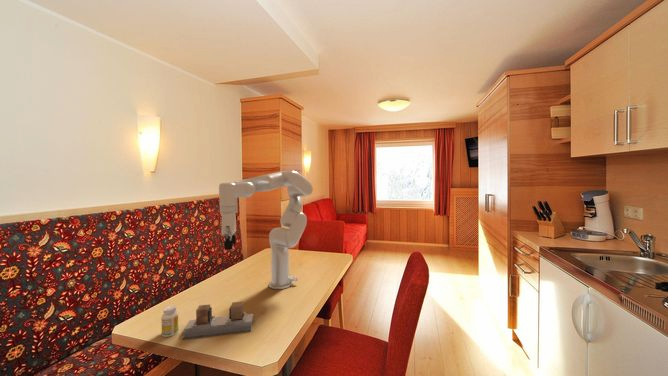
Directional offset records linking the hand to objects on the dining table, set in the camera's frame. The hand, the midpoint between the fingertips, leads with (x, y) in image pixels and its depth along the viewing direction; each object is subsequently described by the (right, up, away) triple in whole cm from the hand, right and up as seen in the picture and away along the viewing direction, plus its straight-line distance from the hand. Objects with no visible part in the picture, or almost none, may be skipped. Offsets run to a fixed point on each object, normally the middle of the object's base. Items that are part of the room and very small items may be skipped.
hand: (230, 246), depth 119 cm
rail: (+3, -28, -18) cm, 33 cm away
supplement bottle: (-15, -29, -21) cm, 38 cm away
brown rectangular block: (-3, -25, -19) cm, 32 cm away
